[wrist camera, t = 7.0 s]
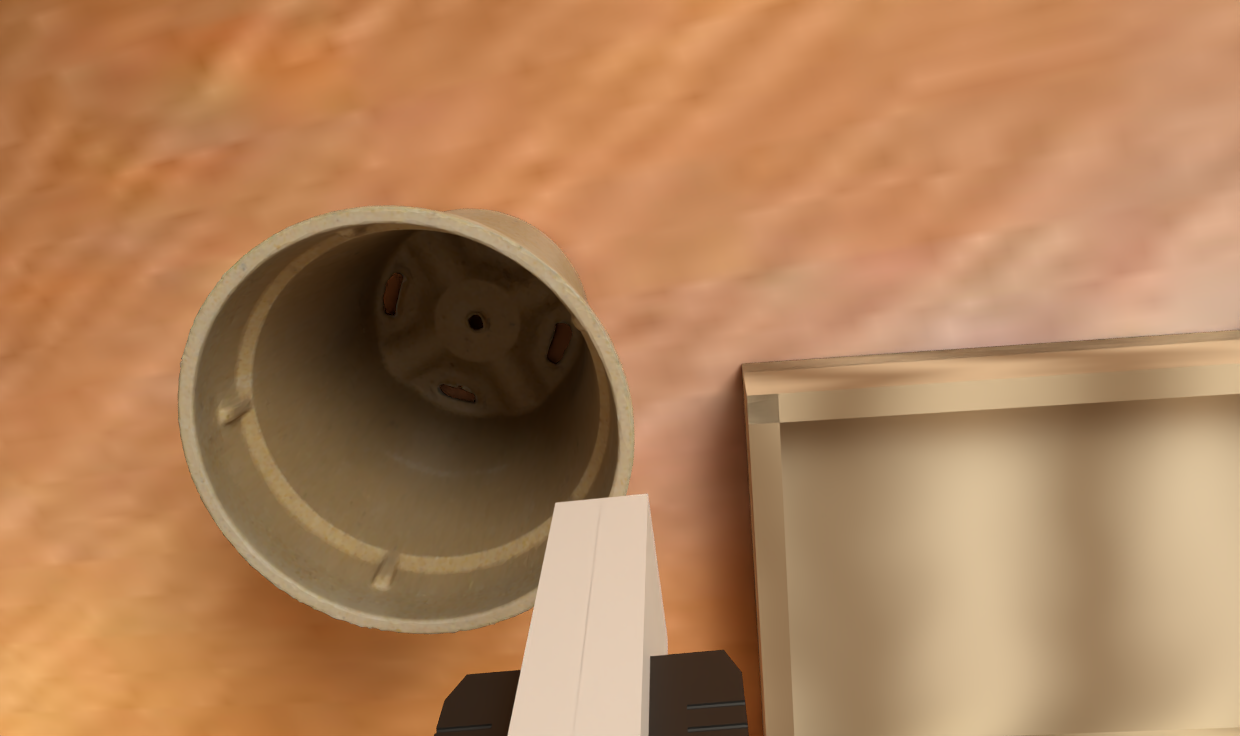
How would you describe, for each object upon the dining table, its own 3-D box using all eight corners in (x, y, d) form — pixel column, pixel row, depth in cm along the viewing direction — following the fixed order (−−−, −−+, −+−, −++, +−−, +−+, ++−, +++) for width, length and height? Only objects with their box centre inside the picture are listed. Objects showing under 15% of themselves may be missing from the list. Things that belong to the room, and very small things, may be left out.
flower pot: (665, 458, 31) (658, 620, 22) (352, 486, 32) (236, 652, 23) (626, 130, 28) (602, 180, 20) (282, 171, 29) (121, 235, 20)
